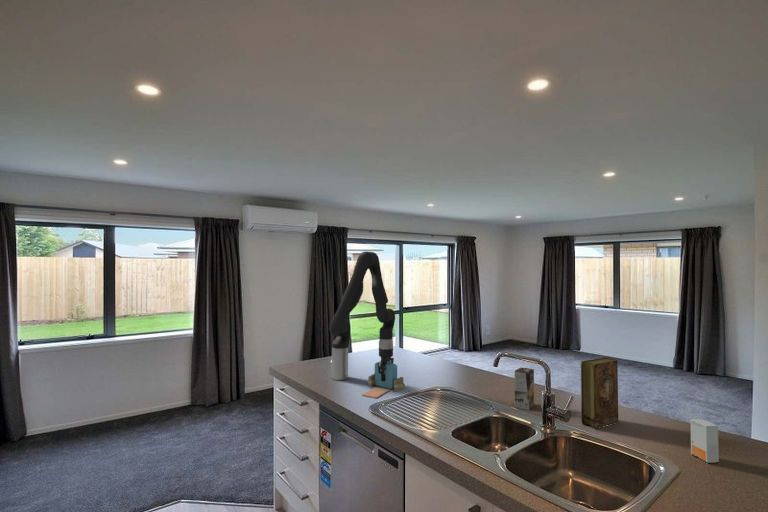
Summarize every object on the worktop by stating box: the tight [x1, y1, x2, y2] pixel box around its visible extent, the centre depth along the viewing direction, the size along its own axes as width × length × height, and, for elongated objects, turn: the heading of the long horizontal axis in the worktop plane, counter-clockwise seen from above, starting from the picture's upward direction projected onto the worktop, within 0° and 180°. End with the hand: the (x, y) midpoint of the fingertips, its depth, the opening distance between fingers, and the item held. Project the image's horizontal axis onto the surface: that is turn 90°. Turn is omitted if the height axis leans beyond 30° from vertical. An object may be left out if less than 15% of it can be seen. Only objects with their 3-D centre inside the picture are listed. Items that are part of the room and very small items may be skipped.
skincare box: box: [690, 418, 720, 463], centre depth 124 cm, size 6×4×12 cm
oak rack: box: [367, 373, 406, 392], centre depth 201 cm, size 16×10×5 cm, turn 61°
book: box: [580, 357, 619, 430], centre depth 153 cm, size 16×6×25 cm, turn 117°
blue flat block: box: [374, 361, 398, 390], centre depth 200 cm, size 12×4×12 cm, turn 50°
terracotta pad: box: [361, 386, 391, 399], centre depth 189 cm, size 8×14×1 cm, turn 151°
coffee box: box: [514, 367, 535, 411], centre depth 173 cm, size 9×6×16 cm
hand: (385, 379), depth 200 cm, fingers closed on blue flat block, 5 cm apart
